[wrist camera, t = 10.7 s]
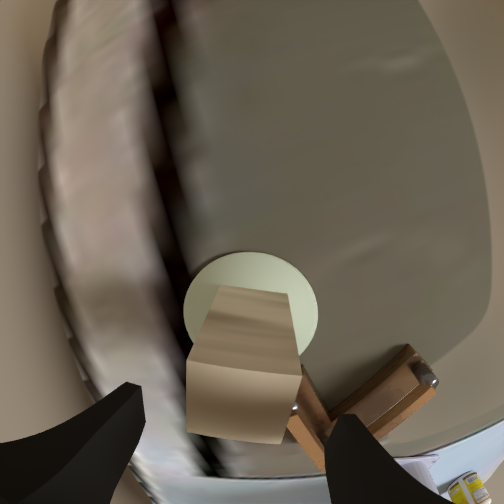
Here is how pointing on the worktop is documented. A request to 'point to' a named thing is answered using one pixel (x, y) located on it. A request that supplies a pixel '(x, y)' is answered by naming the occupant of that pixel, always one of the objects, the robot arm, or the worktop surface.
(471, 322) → the worktop surface
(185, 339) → the worktop surface
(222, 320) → the birch handle block
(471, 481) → the supplement bottle
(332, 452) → the robot arm
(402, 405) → the copper rod course
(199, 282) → the pad
